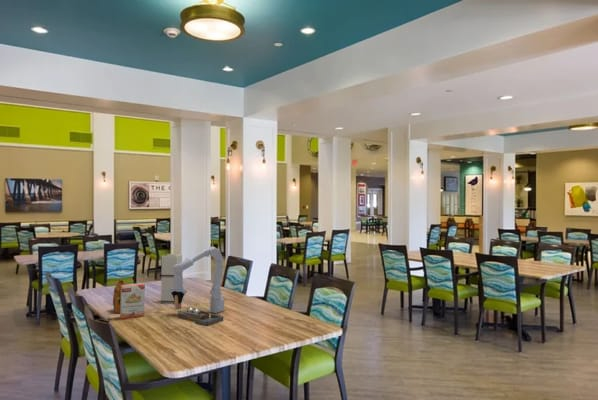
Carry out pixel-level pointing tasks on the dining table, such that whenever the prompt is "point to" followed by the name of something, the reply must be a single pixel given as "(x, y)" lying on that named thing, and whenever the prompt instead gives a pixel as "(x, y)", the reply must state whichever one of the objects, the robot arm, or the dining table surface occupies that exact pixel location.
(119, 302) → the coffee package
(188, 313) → the slot board
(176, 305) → the brown block with knob
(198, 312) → the chip
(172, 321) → the dining table surface
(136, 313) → the cracker box
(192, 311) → the chip
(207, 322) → the tray
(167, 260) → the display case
